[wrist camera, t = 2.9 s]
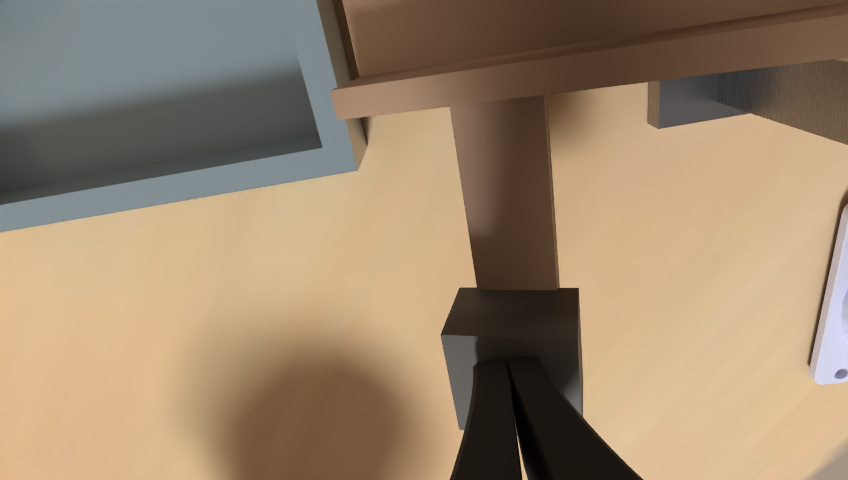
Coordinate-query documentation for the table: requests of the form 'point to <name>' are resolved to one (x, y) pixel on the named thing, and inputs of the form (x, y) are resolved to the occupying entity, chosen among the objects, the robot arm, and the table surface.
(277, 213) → the table surface
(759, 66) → the chute
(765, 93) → the chute stand
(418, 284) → the table surface
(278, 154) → the tray
